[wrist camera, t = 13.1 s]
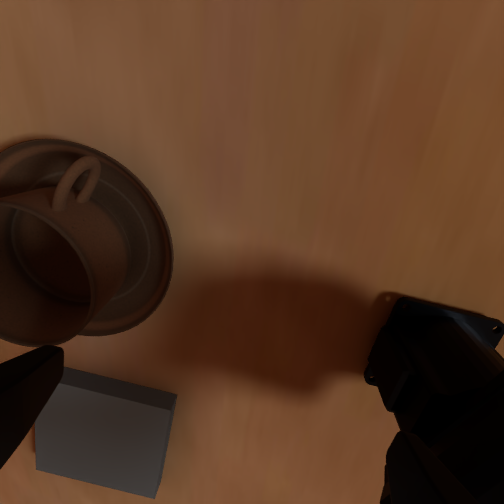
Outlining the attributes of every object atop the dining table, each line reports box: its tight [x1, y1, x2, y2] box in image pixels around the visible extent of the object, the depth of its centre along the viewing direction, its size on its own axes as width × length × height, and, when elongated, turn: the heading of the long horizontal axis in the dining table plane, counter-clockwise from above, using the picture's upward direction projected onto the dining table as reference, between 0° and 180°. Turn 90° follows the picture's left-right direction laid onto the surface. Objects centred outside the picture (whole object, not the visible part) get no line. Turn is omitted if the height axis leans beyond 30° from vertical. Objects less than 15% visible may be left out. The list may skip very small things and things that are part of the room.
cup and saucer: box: [0, 139, 174, 347], centre depth 18 cm, size 12×12×6 cm
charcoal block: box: [35, 367, 177, 499], centre depth 26 cm, size 10×10×2 cm
